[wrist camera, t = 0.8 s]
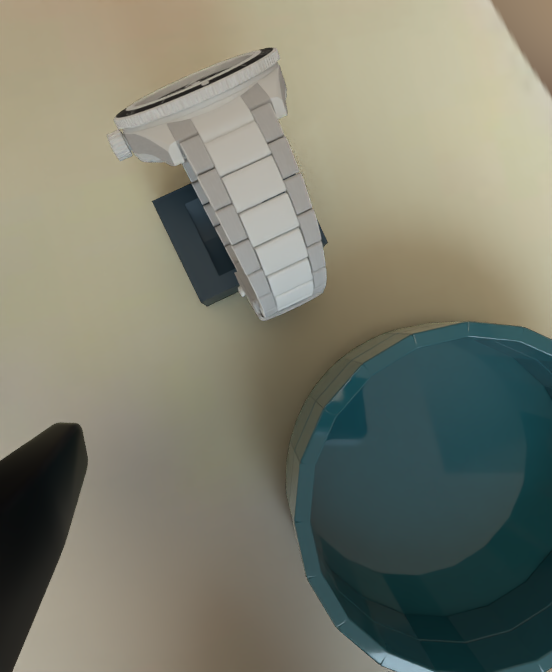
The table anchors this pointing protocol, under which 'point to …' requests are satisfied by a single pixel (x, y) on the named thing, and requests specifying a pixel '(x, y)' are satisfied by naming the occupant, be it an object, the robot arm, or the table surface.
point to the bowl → (432, 497)
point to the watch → (231, 183)
